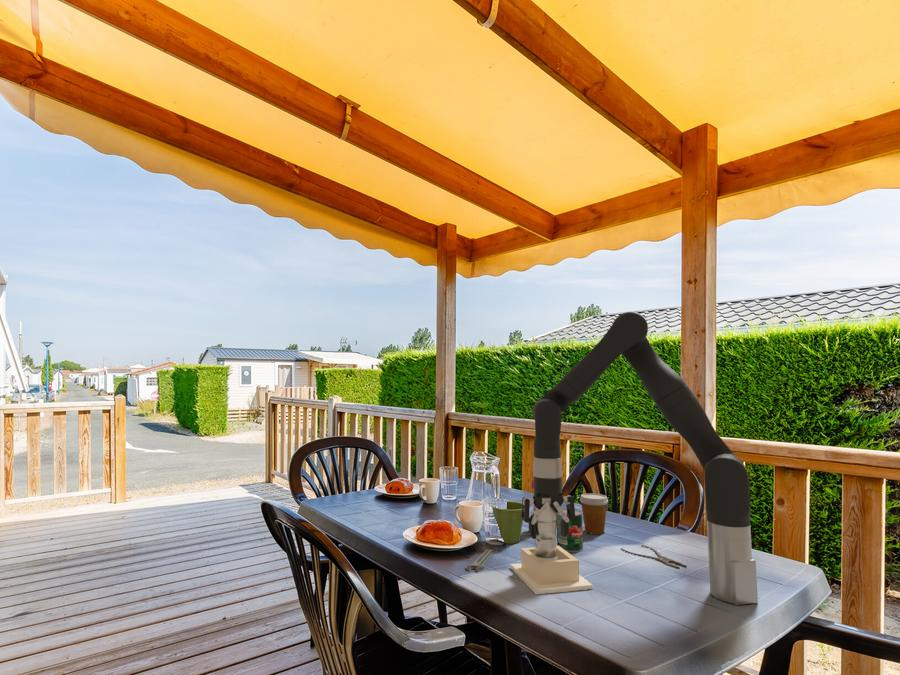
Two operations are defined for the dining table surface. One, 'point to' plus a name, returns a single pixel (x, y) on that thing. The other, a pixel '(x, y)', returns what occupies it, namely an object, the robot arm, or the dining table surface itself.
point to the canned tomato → (571, 533)
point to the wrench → (482, 559)
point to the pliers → (661, 559)
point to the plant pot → (509, 521)
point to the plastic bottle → (546, 533)
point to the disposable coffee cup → (594, 512)
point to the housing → (550, 572)
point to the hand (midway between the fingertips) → (548, 537)
